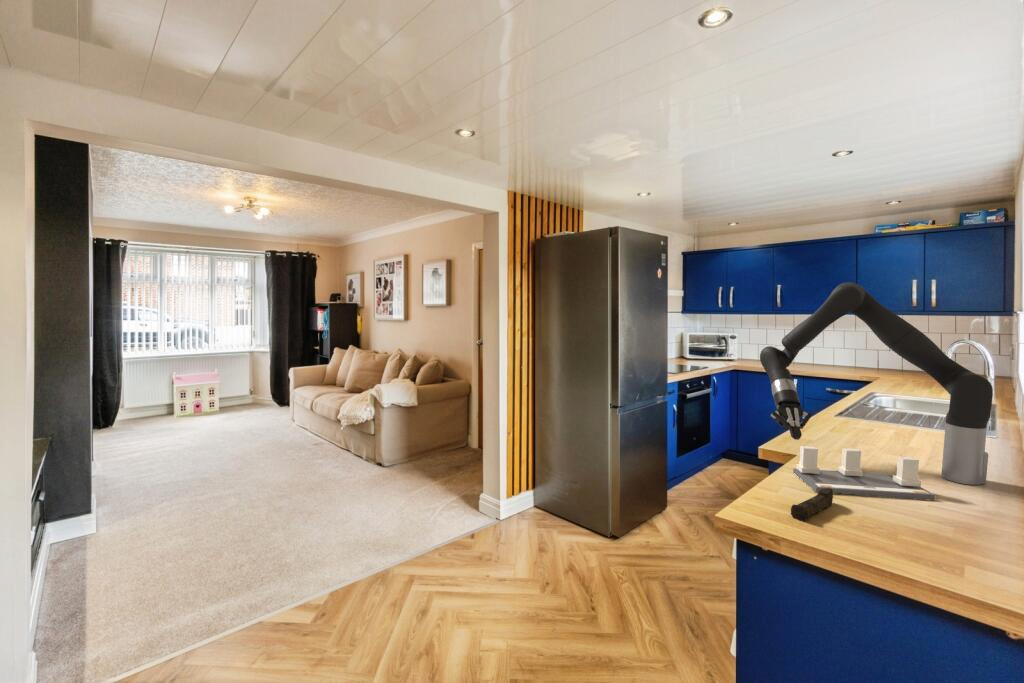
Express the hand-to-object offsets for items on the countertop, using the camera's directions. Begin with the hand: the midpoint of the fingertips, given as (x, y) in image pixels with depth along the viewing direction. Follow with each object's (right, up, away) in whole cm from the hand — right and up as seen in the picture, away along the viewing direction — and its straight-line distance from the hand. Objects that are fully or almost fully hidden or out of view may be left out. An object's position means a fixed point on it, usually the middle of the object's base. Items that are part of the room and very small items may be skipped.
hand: (797, 438), depth 158 cm
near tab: (+21, -9, -18) cm, 29 cm away
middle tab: (+10, -9, -10) cm, 17 cm away
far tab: (-2, -9, -8) cm, 12 cm away
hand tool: (-15, -13, -32) cm, 38 cm away
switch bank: (+9, -11, -15) cm, 21 cm away
